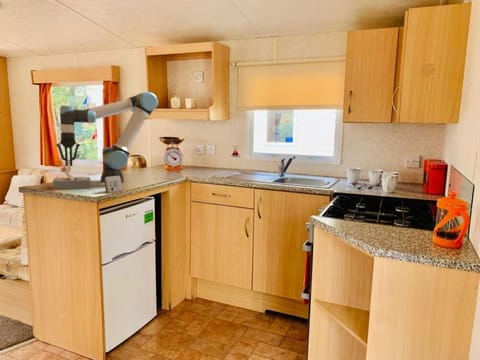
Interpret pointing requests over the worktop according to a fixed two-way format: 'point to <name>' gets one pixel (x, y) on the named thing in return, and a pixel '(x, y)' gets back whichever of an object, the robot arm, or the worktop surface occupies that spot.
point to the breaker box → (71, 183)
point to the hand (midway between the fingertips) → (69, 171)
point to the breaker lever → (67, 173)
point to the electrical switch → (113, 184)
